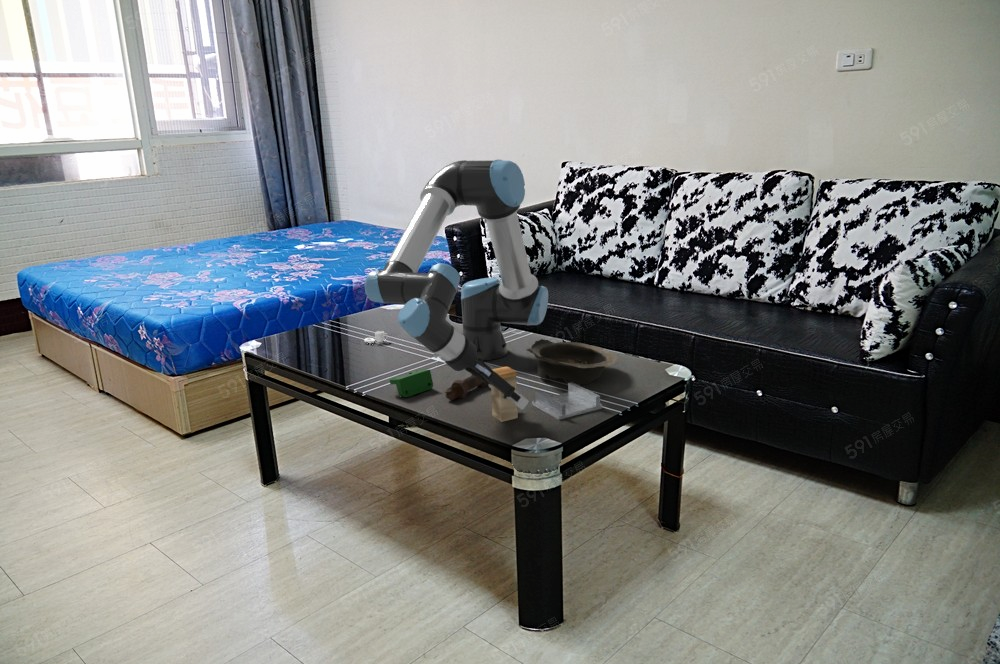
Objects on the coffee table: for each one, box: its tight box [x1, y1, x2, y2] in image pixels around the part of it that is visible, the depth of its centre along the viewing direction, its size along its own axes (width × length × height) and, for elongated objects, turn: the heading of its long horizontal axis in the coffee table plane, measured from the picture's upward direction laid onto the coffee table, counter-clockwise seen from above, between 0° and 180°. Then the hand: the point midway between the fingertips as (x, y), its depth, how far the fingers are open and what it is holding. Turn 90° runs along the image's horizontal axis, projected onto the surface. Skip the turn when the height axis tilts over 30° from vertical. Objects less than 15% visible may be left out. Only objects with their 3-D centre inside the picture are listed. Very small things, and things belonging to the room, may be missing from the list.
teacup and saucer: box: [363, 330, 388, 344], centre depth 247 cm, size 9×8×4 cm
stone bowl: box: [526, 338, 618, 386], centre depth 209 cm, size 25×25×9 cm
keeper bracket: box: [531, 382, 603, 421], centre depth 188 cm, size 12×13×4 cm
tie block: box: [490, 366, 519, 423], centre depth 182 cm, size 4×4×12 cm
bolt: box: [444, 374, 488, 401], centre depth 200 cm, size 6×5×15 cm
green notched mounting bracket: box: [389, 369, 434, 398], centre depth 202 cm, size 11×6×8 cm, turn 128°
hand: (516, 400), depth 184 cm, fingers open, 7 cm apart
